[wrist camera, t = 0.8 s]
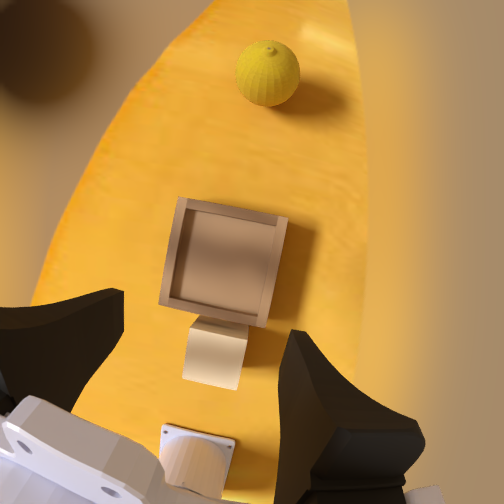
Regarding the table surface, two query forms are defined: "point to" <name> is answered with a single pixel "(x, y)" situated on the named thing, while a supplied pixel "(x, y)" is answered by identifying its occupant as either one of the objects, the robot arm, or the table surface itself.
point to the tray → (222, 261)
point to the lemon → (267, 73)
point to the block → (215, 352)
